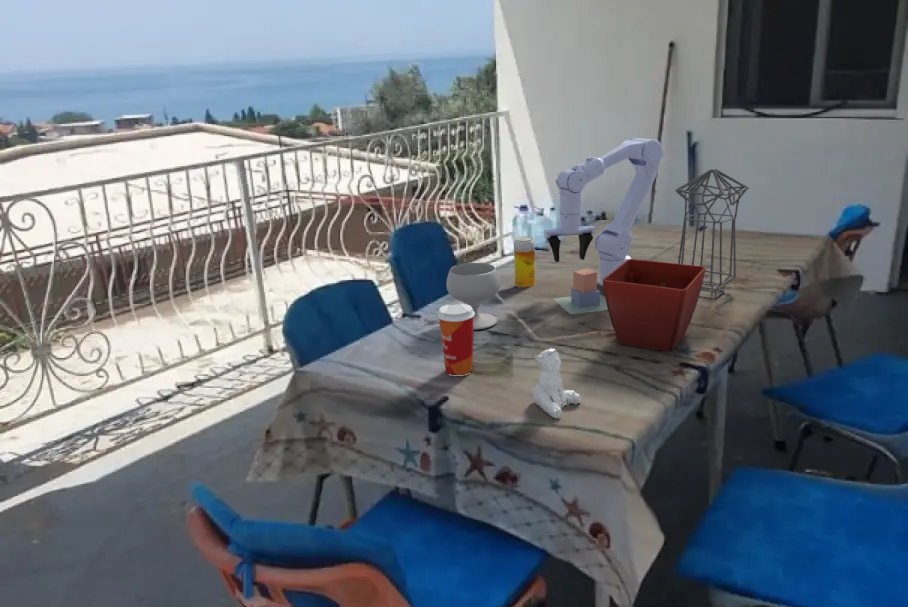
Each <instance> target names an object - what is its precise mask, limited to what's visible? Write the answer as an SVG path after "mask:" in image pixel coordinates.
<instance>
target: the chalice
mask: <svg viewBox="0 0 908 607" xmlns="http://www.w3.org/2000/svg"><path fill="white" fill-rule="evenodd" d="M445 286H446V291H447V292H448V294H449V295H450V296H451V298H453V299H456V300H458V301H459V302H462V303H463V304H467V305H470V306H471V307H472V309H473V311H474V313H475V315H474V316H473V331H475V330H483V329H488V328H491V327H493V326H495V325H497V323H498V320H499V319H498V318H497V317H496V316H494V315H492V314H488V313H482V312H479V307H480V306H481V304H483V303H484V302H486V301H488V300H490V299H492V298H493V297H495V296H496V295H497V293H498V292H499V291H500V288H501V280H500V276H499V273H498V270H497V269H496V267H495V266H494V265H492V264H491V263H486V262H465V263H460V264H456V265H454V266H452V267H451V268H450V269H449V271H448V274H447V277H446V284H445Z"/></svg>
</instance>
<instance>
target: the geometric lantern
mask: <svg viewBox="0 0 908 607" xmlns="http://www.w3.org/2000/svg"><path fill="white" fill-rule="evenodd" d="M711 175H713V177H714V179H715V183H716V186H715V185H710V184H709V182H710V178H711ZM725 178H726V179H728V180H730V181H731V182H733V183H735V184H736V186H733V185H732V184H731V183H730V182H729V181H728V180H726V179H725ZM704 183H705V184H704ZM722 185H723V186H724V187H725V188H723V186H722ZM738 185H739V186H738ZM701 187H702V188H703V190H702V192H698V190H699V189H700V188H701ZM709 188H711V189H715V190H716V189H717V190H718V191H719V192H718V193H715V192H713V191H712V190H710V189H709ZM748 189H750V187H748V186H747V185H744V184H743V183H742V182H739V181H737V180H736V179H734V178H733V177H731V176H729V175H727V174H726V173H724V172H722V171H721V170H719V169H717V168H709V169H708V170H707V171H705V172H704V173H702V174H700V175H698V176H697V177H695V178H693V179H691V180H690V181H688V182H686V183H685V184H683V185H680V186H679V187H677V188H676V189H674V191H675V193H676V194H678V195H679V196H680V197H681V198H682V199H684V201H685V202H684V217H683V224H682V231H681V239H680V246H679V251H678V252H679V254H678V260H677V261H678V262H677V264H684V256H685V246H686V245H685V244H686V234H687V233H686V231H687V221H691V222H693V221H694V222H696V225H695V226H696V228H695V235H694V242H693V250H692V251H693V252H692V258H691V265H694V266H695V256H696V247H697V241H698V233H699V232H698V231H699V225H700V224H699V223H700V222H702V223H703V228H702V238H701V239H702V240H701V251H700V262H699V263H700V264H699V266H702V267H703V261H704V260H703V258H704V249H705V248H704V246H705V234H706V224H707V223H710V224H711V223H712V237H711V239H712V241H711V256H710V257H711V258H710V270H707V269H705V273H709V274H710V277H709V278H710V281H704V280H703V283H702V287H701V291H705V292H711V293H710V296H711V297H710V296H705V295H699V298H704V299H709V300H715V299H717V298H719V296H721V295H723V293H725V286H726V285H728V284H729V283H731V282H733V281H734V280H735V279H736V277H737V264H736V263H737V260H736V259H737V257H736V253H737V252H736V249H737V248H736V219H737V216H738V210H739V208H738V207H739V204H740V199H741V198H742V197H743V196H744V194H745V193H746V192H747V191H748ZM732 190H733V191H734V192H732ZM706 191H708V193H706ZM725 192H727V194H726V193H725ZM687 194H688V195H689V197H687ZM695 195H699V196H701V201H702V202H701V203H699V202H698V203H695V197H694V196H695ZM736 195H738V197H737V198H736ZM724 196H725V197H724ZM704 197H713V198H710V199H708V200H707V201H705V200H704ZM732 198H733V199H732ZM718 199H720V200H724V201H725V204H726V207H725V209H724V210H723V212H722V213H712V212H711V211H710V210H711V208H712V207H713V206H714V204H715V203H716V202H717V200H718ZM727 200H728V201H729V204H728V201H727ZM688 203H690V204H691V205H690V207H689V209H688V206H687V205H688ZM709 203H711V204H710V206H709V207H708V205H707V204H709ZM735 205H736V206H735ZM696 206H704V208H705V209H706V211H705V212H699V210H698V208H697V207H696ZM730 206H735V210H734V215H733V214H732V212H731V209H730ZM693 207H694V210H696V212H697V213H693V214H691V215H688V214H689V212H690V211H691V210H692V208H693ZM687 209H688V211H687ZM727 210H728V212H729V214H726V211H727ZM701 215H703V220H701V219H700V216H701ZM707 215H709V216H710V218H711V219H712V221H710V220H706V219H707ZM713 215H714V216H720V218H719V219H718V220H717V221H716V220H715V218H714V216H713ZM694 216H697V218H696V219H695V218H694V219H693V218H691V217H694ZM723 216H724V217H731V218H729V219H726V220H724V221H721V219H722V218H723ZM729 221H731V236H730V253H729V256H730V257H729V273H727V272H722V269H723V268H722V267H723V259H722V258H723V224H724V223H727V222H729ZM716 224H719V272H718V271H714V254H715V253H714V251H715V232H716V230H715V228H716ZM732 268H733V270H732ZM732 271H733V274H732ZM713 274H715V275H719V282H713V276H714V275H713ZM722 275H724V276H727V277H726V279H724V281H723V280H722V278H723V276H722ZM730 277H731V278H730ZM705 286H707V287H705ZM715 286H717V287H716V288H714V287H715ZM717 291H720V293H719V294H717ZM713 293H714V295H713ZM713 296H714V297H713Z"/></svg>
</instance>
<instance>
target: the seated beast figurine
mask: <svg viewBox="0 0 908 607" xmlns="http://www.w3.org/2000/svg"><path fill="white" fill-rule="evenodd" d="M534 360H535V361H537V362H538V363H539V366H540V368H541V369H542V371H540V373H539V374H538V378H537V383H536V384H535V385H534V386H533V387H532V390H531V392H532V399H533V401H534V403H535V404H536V405H538V407H539V406H540V407H539V408H540V409H541V408H542V409H543V410H542V409H541V410H542V411H544V412H545V413H546V412H547V413H546V414H547V415H549V414H550V415H551V416H552V417H554V418H553V419H556V418H555V417H556V416H560V415H561V416H562V414H563V409H562V407H561V406H565V405H567V403H566V402H569V403H580V404H581V399H582V397H581V396H582V395H581V394H579V393H577V392H575V391H574V390H573V389H571V390H570V389H566V390H565V389H564V386H563V381H562V375H561V373H560V370H561V364H562V360H561V357H560V353H559V352H558V351H557V350H556V348H548V349H545V350H542V351H541V352H540V354H539V355H535V356H534ZM567 406H568V405H567ZM550 415H549V416H550ZM551 416H550V417H551ZM561 416H560V417H561ZM552 417H551V418H552Z"/></svg>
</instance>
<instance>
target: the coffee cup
mask: <svg viewBox="0 0 908 607" xmlns="http://www.w3.org/2000/svg"><path fill="white" fill-rule="evenodd" d="M474 315H475V313H474V311H473V309H472V307H471V306H470V305H467V304H466V303H459V304H457V303H452V304H445V305H443V306H441V307H440V308H439V310H438V312H437V315H436V317H437V318H438V320H439V329H440V338H441V344H442V352H443V353H442V354H443V362H444V367H445V373H446V372H447V373H448V374H451V375H465V374H468V373H470V372H471V368H472V369H473V366H472V364H473V358H474V356H473V354H474V352H473V351H474V330H473V316H474ZM447 373H446V374H447Z"/></svg>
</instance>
